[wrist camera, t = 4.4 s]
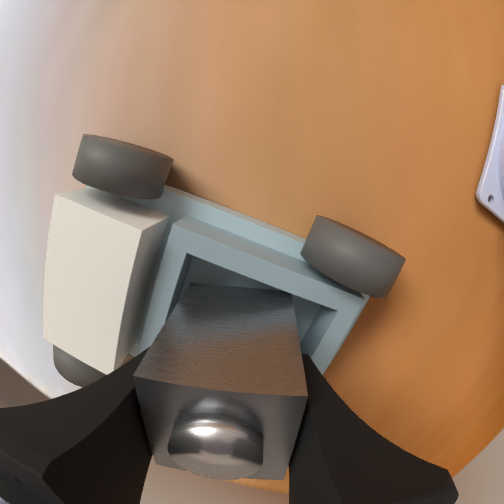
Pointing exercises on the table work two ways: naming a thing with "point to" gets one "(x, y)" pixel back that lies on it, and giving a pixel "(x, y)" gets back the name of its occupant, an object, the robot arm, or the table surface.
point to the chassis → (184, 262)
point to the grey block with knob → (225, 384)
